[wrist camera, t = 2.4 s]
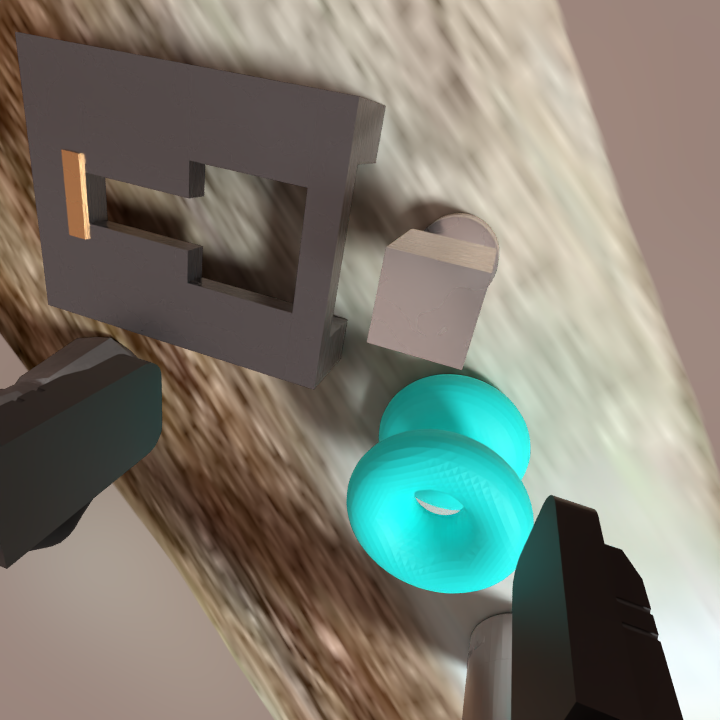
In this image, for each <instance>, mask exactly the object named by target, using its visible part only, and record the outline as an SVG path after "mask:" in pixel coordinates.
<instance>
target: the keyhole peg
mask: <svg viewBox="0 0 720 720" xmlns="http://www.w3.org/2000/svg"><path fill="white" fill-rule="evenodd" d="M498 261H499V244H498V240H497V237H496V235H495V233H494V232H493V230H492V228H491V227H490V226H489V225H488V224H487V223H486V222H485V221H483V220H482V219H480V218H479V217H476V216H474V215H471V214H467V213H452V214H448V215H445V216H443V217H441V218H439V219H437V220H436V221H434V222H433V223H432V224H431V225H429V226H428V227H427V228H426V229H425V230H424V231H420V230H416V229H411V230H409V231H408V232H406V233H405V234H404V235H402V236H401V237H399V238H398V239H397V240H395V241H394V242H392V243H391V244H390V245H388V246H387V247H386V250H385V255H384V260H383V265H382V270H381V275H380V280H379V285H378V290H377V295H376V300H375V305H374V309H373V314H372V319H371V324H370V329H369V334H368V339H367V343H371V344H374V345H377V346H381V347H384V348H388V349H391V350H395V351H398V352H402V353H405V354H408V355H412V356H415V357H419V358H422V359H426V360H429V361H432V362H436V363H439V364H443V365H446V366H450V367H453V368H457V369H460V370H462V368H463V365H464V362H465V358H466V355H467V352H468V349H469V345H470V342H471V339H472V336H473V332H474V329H475V326H476V323H477V320H478V316H479V313H480V310H481V307H482V303H483V300H484V297H485V294H486V290H487V287H488V286H489V285H490V283H491V282H492V280H493V278H494V276H495V274H496V271H497V267H498Z"/></svg>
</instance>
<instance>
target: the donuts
mask: <svg viewBox="0 0 720 720" xmlns="http://www.w3.org/2000/svg"><path fill="white" fill-rule="evenodd" d="M529 459H530V437H529V432H528V429H527V426H526V423H525V421H524V419H523V417H522V415H521V414H520V412H519V411H518V409H517V408H516V406H515V405H514V404H513V403H512V402H511V401H510V400H509V399H508V398H507V397H506V396H505V395H504V394H503V393H502V392H500V391H499V390H497V389H496V388H494V387H493V386H491V385H489V384H487V383H485V382H483V381H481V380H478V379H475V378H472V377H468V376H463V375H456V374H440V375H433V376H428V377H425V378H422V379H419V380H417V381H415V382H413V383H411V384H409V385H408V386H406V387H405V388H403V389H402V390H401V391H399V392H398V393H397V394H396V395H395V396H394V397H393V398H392V400H391V401H390V402H389V404H388V406H387V407H386V409H385V411H384V413H383V416H382V419H381V422H380V428H379V443H377V444H376V445H375V446H373V447H372V448H371V449H370V450H369V451H368V452H367V453H366V454H365V455H364V456H363V457H362V458H361V459H360V461H359V462H358V464H357V465H356V467H355V469H354V471H353V473H352V475H351V478H350V481H349V484H348V490H347V512H348V516H349V521H350V524H351V527H352V529H353V532H354V534H355V536H356V538H357V540H358V541H359V543H360V544H361V546H362V547H363V549H364V550H365V551H366V552H367V554H368V555H369V556H370V557H371V558H372V559H373V560H374V561H375V562H376V563H377V564H378V565H379V566H381V567H382V568H383V569H384V570H386V571H387V572H388V573H390V574H392V575H393V576H395V577H396V578H398V579H400V580H402V581H404V582H406V583H408V584H411V585H413V586H416V587H419V588H422V589H425V590H429V591H434V592H440V593H466V592H473V591H478V590H482V589H485V588H488V587H491V586H493V585H495V584H497V583H499V582H500V581H502V580H504V579H505V578H506V577H508V576H509V575H510V574H511V573H512V572H513V571H514V570H515V569H516V566H517V563H518V560H519V557H520V554H521V552H522V550H523V548H524V545H525V543H526V541H527V539H528V537H529V535H530V532H531V530H532V528H533V526H534V521H533V510H532V505H531V502H530V499H529V496H528V493H527V491H526V489H525V487H524V485H523V483H522V481H521V480H522V478H523V476H524V474H525V472H526V469H527V467H528V463H529ZM415 497H416V498H418V499H419V500H421V501H423V502H425V503H428V504H430V505H433V506H436V507H439V508H444V509H449V510H460V511H459V512H458V513H456V514H452V515H438V514H435V513H432V512H430V511H428V510H426V509H425V508H424V507H422V506H421V505H420V504H419V503H418V502H417V500H416V498H415Z"/></svg>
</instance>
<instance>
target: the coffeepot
mask: <svg viewBox="0 0 720 720" xmlns="http://www.w3.org/2000/svg"><path fill="white" fill-rule="evenodd" d="M117 354H126V355H129V356H132V357H135V358H137V357H136V356H135V355H134V354H133V353H132V352H131V351H130V350H129V349H127V348H126V347H125V346H123V345H122V344H120V343H118V342H116V341H114V340H113V339H112V338H105V337H91V338H77V339H75V340H74V341H72V342H71V343H69V344H68V345H67V346H65V347H64V348H62V349H61V350H59V351H58V352H56V353H55V354H53V355H52V356H50V357H49V358H47V359H46V360H44V361H43V362H41V363H40V364H38V365H37V366H36V367H34V368H33V369H31V370H30V371H28V372H27V373H25V374H24V375H22V376H21V377H20V378H19V379H18V381H17V382H16V383H15V385H12V386H10V387H8V388H6V389H0V406H1V405H3V404H5V403H7V402H9V401H11V400H13V401H16V400H17V397H19V396H21V395H23V394H25V393H27V392H29V391H31V390H35V391H36V390H37V389H38V387H39V386H42V385H44V384H46V383H48V382H50V381H52V380H54V379H56V378H58V377H60V376H62V375H66V374H70V373H74V372H78V371H82V370H85V369H89V368H91V367H93V366H95V365H97V364H99V363H101V362H103V361H105V360H107V359H109V358H111V357H113V356H115V355H117ZM92 500H93V499H92ZM92 500H91V501H92ZM91 501H90V502H91ZM90 502H88V503H87V504H86V505H85V506H83V507H82V508H81V509H80V510H79V511H77V512H76V513H75V514H74V515H72V516H71V517H70V518H69V519H68V520H66V521H65V522H64V523H63V524H61V525H60V526H59V527H58V528H56V529H55V530H54V531H53V532H52V533H50V534H49V535H48V536H47V537H45V538H44V539H43V540H42V541H41V542H39V543H38V544H37V545H36V546H34V547H33V548H32V549H31V550H29V551H32V550H37V549H41V548H46V547H51V546H54V545H56V544H58V543H61V542H62V541H63V540H64V539H65V538H66V537H68V536H69V535H70V534H71V532H72V531H73V530H74V529H75V527H76V525H77V523H78V521H79V520H80V518H81V516H82V515H83V513H84V512H85V510H86V509H87V507H88V506H89V504H90Z"/></svg>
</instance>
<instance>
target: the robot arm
mask: <svg viewBox="0 0 720 720" xmlns="http://www.w3.org/2000/svg"><path fill="white" fill-rule="evenodd" d="M161 430H162V384H161V371H160V368H159V367H158V366H157V365H156V364H154V363H151V362H148V361H145V360H141V359H138V358H135V357H132V356H129V355H126V354H117V355H115V356H113V357H111V358H109V359H107V360H105V361H103V362H101V363H99V364H97V365H95V366H93V367H91V368H89V369H85V370H82V371H78V372H74V373H70V374H66V375H62V376H60V377H58V378H56V379H54V380H52V381H50V382H48V383H46V384H44V385H42V386H39V387H38V389H37V390H36V391H35V390H31V391H29V392H27V393H25V394H23V395H21V396H19V397H17V400H16V401H13V400H11V401H9V402H7V403H5V404H3V405H1V406H0V566H2V567H4V568H6V569H7V568H8V567H10V566H11V565H12V564H13V563H15V562H16V561H17V560H18V559H20V558H21V557H22V556H23V555H24V554H26V553H27V552H28V551H29V550H31V549H32V548H33V547H34V546H36V545H37V544H38V543H39V542H41V541H42V540H43V539H44V538H45V537H47V536H48V535H49V534H50V533H52V532H53V531H54V530H55V529H56V528H58V527H59V526H60V525H61V524H63V523H64V522H65V521H66V520H68V519H69V518H70V517H71V516H72V515H74V514H75V513H76V512H77V511H79V510H80V509H81V508H82V507H83V506H85V505H86V504H87V503H88V502H90V501H91V500H92V499H93V498H95V497H96V496H97V495H98V494H99V493H101V492H102V491H103V490H104V489H106V488H107V487H108V486H109V485H111V484H112V483H113V482H114V481H115V480H117V479H118V478H119V477H120V476H122V475H123V474H124V473H125V472H126V471H128V470H129V469H130V468H131V467H133V466H134V465H135V464H136V463H138V462H139V461H140V460H141V459H142V458H144V457H145V456H146V455H147V454H148V453H149V452H150V451H151V450H152V449H153V448H154V446H155V445H156V443H157V441H158V439H159V437H160V434H161ZM650 610H651V607H650V604H649V601H648V597H647V594H646V590H645V587H644V583H643V580H642V578H641V577H640V575H639V574H638V572H637V571H636V569H635V568H634V567H633V565H632V564H631V562H630V561H629V559H628V558H627V556H626V555H625V554H624V552H623V551H622V550H621V549H618V548H615V547H612V546H609V545H606V544H604V540H603V535H602V531H601V526H600V522H599V517H598V514H597V512H596V510H595V509H592V508H589V507H586V506H583V505H580V504H577V503H574V502H571V501H568V500H565V499H562V498H559V497H555V496H552V495H550V496H549V497H548V498H547V499H546V501H545V502H544V504H543V506H542V508H541V511H540V513H539V515H538V517H537V519H536V522H535V524H534V526H533V528H532V530H531V532H530V535H529V537H528V539H527V541H526V543H525V545H524V548H523V550H522V552H521V554H520V557H519V560H518V563H517V566H516V570H515V575H514V581H513V592H512V613H508V614H500V615H496V616H492V617H490V618H488V619H486V620H484V621H482V622H481V623H480V624H479V625H478V626H476V628H475V629H474V631H473V633H472V635H471V639H470V646H469V654H468V661H467V677H466V686H465V696H464V706H463V716H462V720H683V717H682V714H681V710H680V707H679V703H678V700H677V697H676V693H675V690H674V686H673V683H672V679H671V676H670V673H669V669H668V666H667V662H666V659H665V655H664V652H663V649H662V645H661V642H660V641H658V631H657V628H656V625H655V621H654V618H653V615H651V614H650Z"/></svg>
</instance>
